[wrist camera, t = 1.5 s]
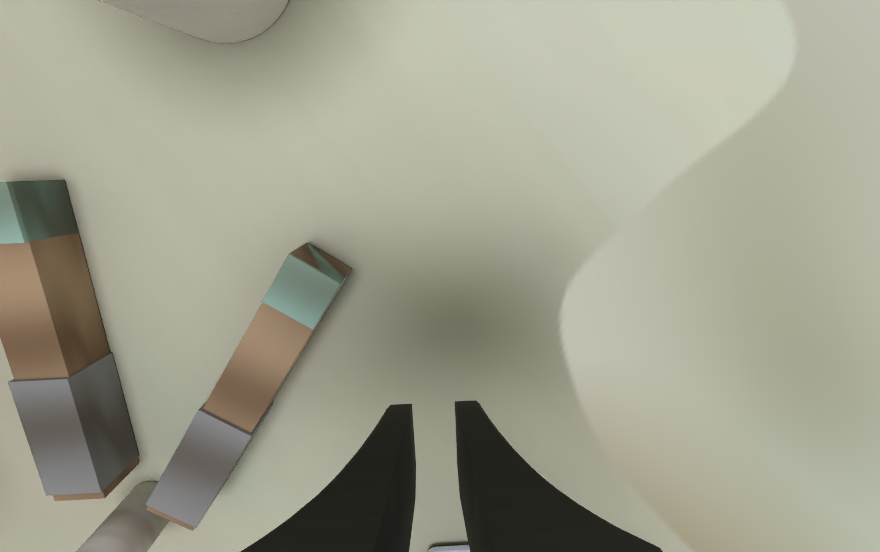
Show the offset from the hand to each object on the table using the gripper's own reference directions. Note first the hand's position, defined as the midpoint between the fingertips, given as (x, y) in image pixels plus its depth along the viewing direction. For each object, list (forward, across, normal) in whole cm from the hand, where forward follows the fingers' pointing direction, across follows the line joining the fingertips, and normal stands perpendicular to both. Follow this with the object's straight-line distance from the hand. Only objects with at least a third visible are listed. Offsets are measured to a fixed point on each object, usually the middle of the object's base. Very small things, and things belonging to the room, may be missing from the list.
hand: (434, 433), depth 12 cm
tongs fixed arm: (+9, +17, +2) cm, 19 cm away
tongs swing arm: (+9, +9, +3) cm, 13 cm away
